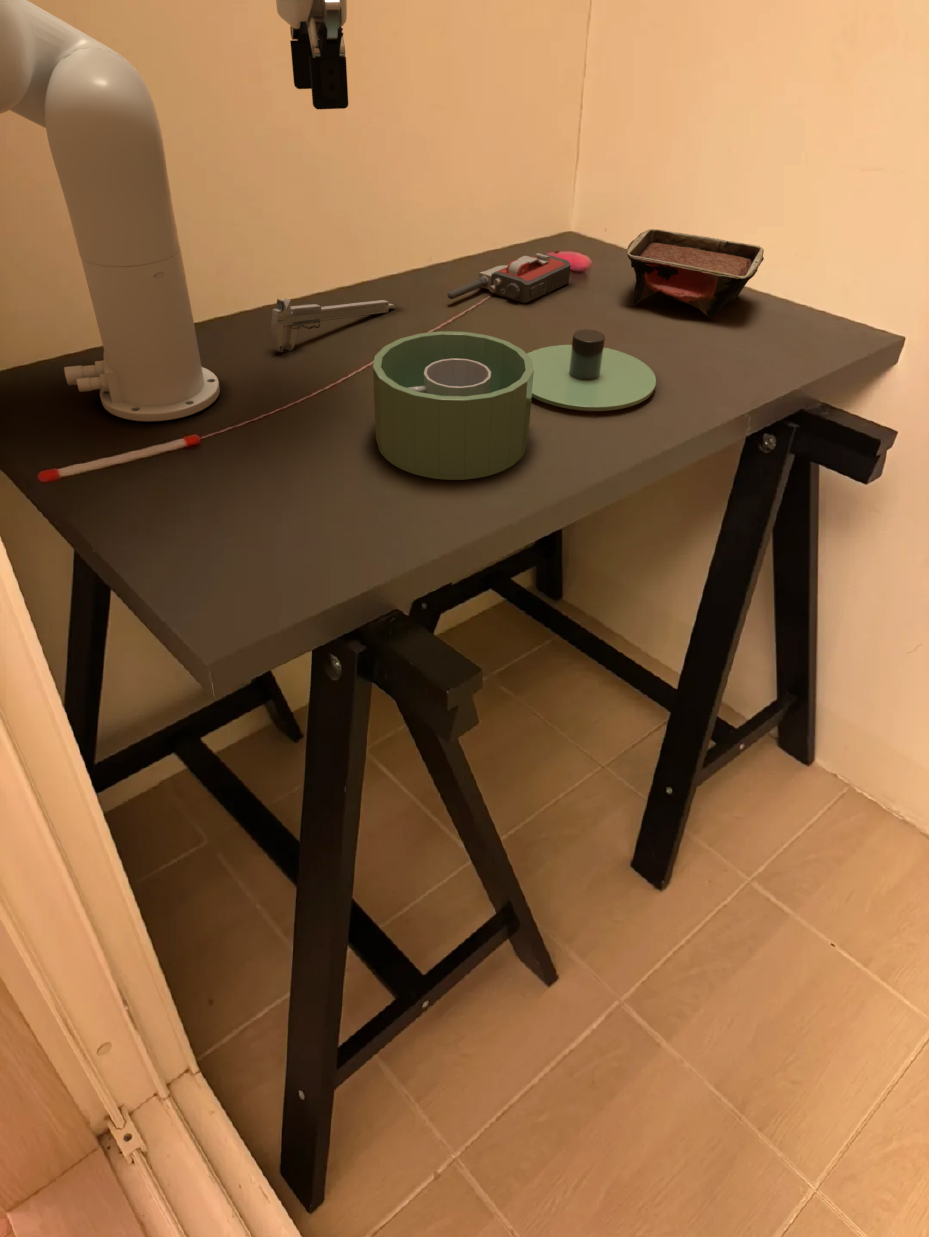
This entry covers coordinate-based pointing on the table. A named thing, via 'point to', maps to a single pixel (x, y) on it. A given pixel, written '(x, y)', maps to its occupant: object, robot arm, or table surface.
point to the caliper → (315, 317)
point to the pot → (452, 407)
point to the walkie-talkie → (521, 278)
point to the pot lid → (589, 375)
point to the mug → (455, 378)
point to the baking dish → (692, 268)
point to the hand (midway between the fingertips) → (320, 97)
